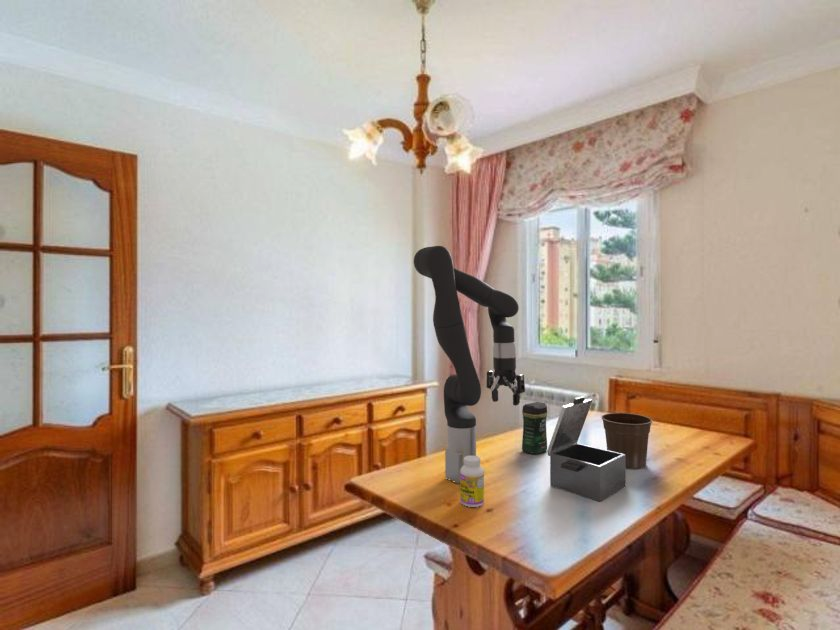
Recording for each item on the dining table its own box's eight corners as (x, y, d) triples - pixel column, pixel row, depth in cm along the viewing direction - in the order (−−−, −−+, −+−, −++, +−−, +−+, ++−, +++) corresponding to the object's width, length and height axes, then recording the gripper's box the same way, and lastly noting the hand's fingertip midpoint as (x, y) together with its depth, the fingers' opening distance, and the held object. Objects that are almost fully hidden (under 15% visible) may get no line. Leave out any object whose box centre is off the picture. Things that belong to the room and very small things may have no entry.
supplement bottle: (455, 503, 130) (455, 458, 130) (470, 496, 134) (470, 452, 134) (474, 510, 125) (473, 463, 125) (489, 503, 130) (488, 458, 129)
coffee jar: (536, 456, 170) (536, 406, 170) (518, 451, 176) (518, 403, 176) (551, 450, 177) (550, 402, 176) (533, 446, 183) (533, 399, 182)
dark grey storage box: (595, 505, 128) (595, 469, 128) (544, 488, 140) (544, 455, 140) (629, 484, 143) (629, 452, 143) (581, 471, 155) (581, 441, 154)
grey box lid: (567, 402, 137) (560, 398, 139) (548, 457, 142) (541, 453, 144) (594, 394, 148) (587, 391, 150) (575, 446, 153) (569, 442, 155)
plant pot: (622, 474, 152) (622, 425, 151) (591, 458, 167) (591, 414, 167) (663, 469, 156) (663, 421, 156) (629, 454, 171) (629, 411, 171)
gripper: (480, 355, 159) (482, 402, 159) (515, 358, 148) (516, 408, 149) (494, 353, 164) (495, 398, 164) (528, 355, 153) (529, 404, 154)
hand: (505, 403), depth 156 cm, fingers open, 8 cm apart
